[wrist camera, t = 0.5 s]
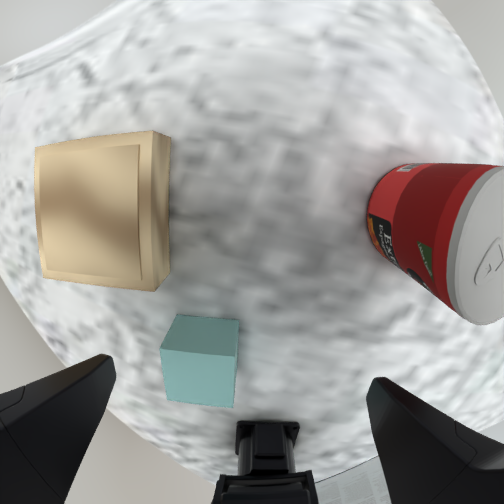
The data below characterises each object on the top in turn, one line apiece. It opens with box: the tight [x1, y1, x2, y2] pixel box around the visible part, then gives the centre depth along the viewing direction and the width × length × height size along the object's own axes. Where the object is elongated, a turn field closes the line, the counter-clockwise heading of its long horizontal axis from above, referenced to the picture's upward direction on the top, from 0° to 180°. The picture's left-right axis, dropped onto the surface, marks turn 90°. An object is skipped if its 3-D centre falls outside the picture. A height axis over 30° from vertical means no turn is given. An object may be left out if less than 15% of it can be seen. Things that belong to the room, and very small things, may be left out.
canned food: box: [367, 163, 504, 325], centre depth 14 cm, size 8×8×11 cm
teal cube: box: [160, 314, 239, 408], centre depth 20 cm, size 5×5×5 cm
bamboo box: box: [34, 131, 171, 292], centre depth 18 cm, size 10×10×4 cm
